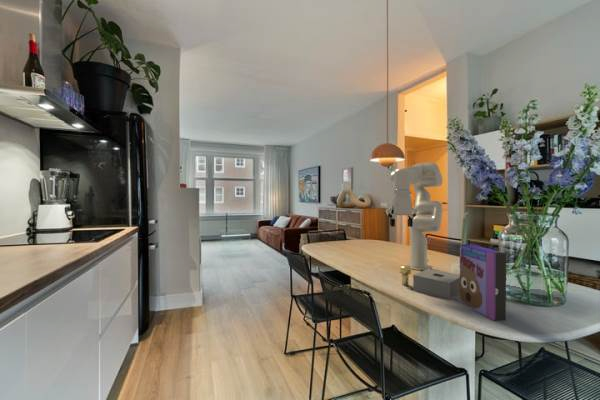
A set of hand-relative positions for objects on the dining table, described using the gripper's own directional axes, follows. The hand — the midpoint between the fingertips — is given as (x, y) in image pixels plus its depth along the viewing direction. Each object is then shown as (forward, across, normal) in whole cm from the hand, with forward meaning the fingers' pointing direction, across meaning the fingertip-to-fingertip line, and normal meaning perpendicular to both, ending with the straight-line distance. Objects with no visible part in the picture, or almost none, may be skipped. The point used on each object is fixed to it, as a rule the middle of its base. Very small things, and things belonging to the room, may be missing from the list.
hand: (401, 226), depth 140 cm
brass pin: (+28, 0, +5) cm, 29 cm away
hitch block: (+28, -10, +15) cm, 34 cm away
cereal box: (+29, -11, +38) cm, 49 cm away
